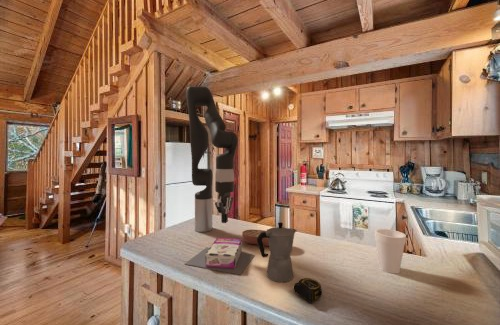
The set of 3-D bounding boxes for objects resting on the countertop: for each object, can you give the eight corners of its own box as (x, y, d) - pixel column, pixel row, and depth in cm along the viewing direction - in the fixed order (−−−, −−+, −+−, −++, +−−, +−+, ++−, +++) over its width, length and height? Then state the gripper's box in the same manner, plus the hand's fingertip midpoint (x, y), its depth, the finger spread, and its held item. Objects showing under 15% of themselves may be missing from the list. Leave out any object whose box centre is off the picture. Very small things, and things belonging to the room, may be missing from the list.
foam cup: (394, 278, 75) (395, 239, 75) (368, 266, 83) (369, 231, 83) (410, 271, 80) (411, 235, 79) (384, 260, 88) (385, 227, 87)
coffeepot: (287, 265, 84) (288, 216, 83) (304, 277, 75) (305, 223, 75) (250, 274, 77) (250, 222, 77) (264, 289, 69) (264, 230, 68)
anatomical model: (238, 245, 103) (239, 234, 103) (247, 238, 112) (247, 228, 112) (288, 254, 94) (289, 242, 94) (293, 245, 103) (294, 234, 103)
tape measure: (292, 294, 67) (292, 281, 67) (308, 286, 70) (308, 274, 70) (310, 307, 61) (310, 293, 61) (326, 298, 65) (326, 285, 65)
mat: (206, 248, 99) (206, 247, 99) (254, 255, 92) (254, 254, 92) (184, 264, 84) (184, 263, 84) (240, 274, 77) (240, 274, 77)
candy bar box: (216, 248, 98) (204, 266, 81) (217, 237, 98) (204, 253, 81) (242, 250, 96) (235, 269, 80) (242, 238, 96) (235, 255, 80)
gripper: (223, 178, 100) (223, 217, 100) (208, 181, 87) (208, 226, 88) (239, 178, 97) (239, 219, 98) (226, 182, 85) (226, 228, 85)
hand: (224, 222), depth 93 cm, fingers closed
